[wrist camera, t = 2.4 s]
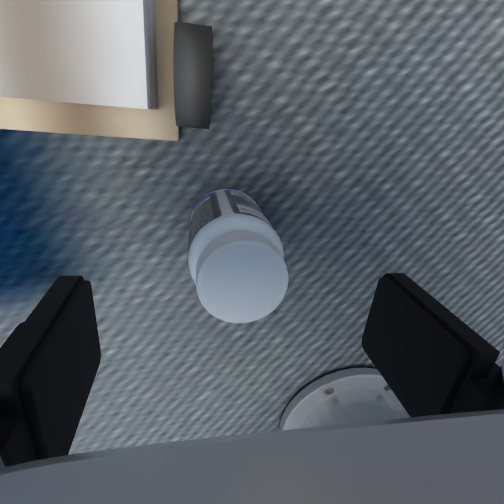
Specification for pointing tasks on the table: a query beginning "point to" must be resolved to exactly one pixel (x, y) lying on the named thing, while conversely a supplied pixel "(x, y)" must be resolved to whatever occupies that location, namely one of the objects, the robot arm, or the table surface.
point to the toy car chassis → (103, 68)
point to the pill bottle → (235, 257)
